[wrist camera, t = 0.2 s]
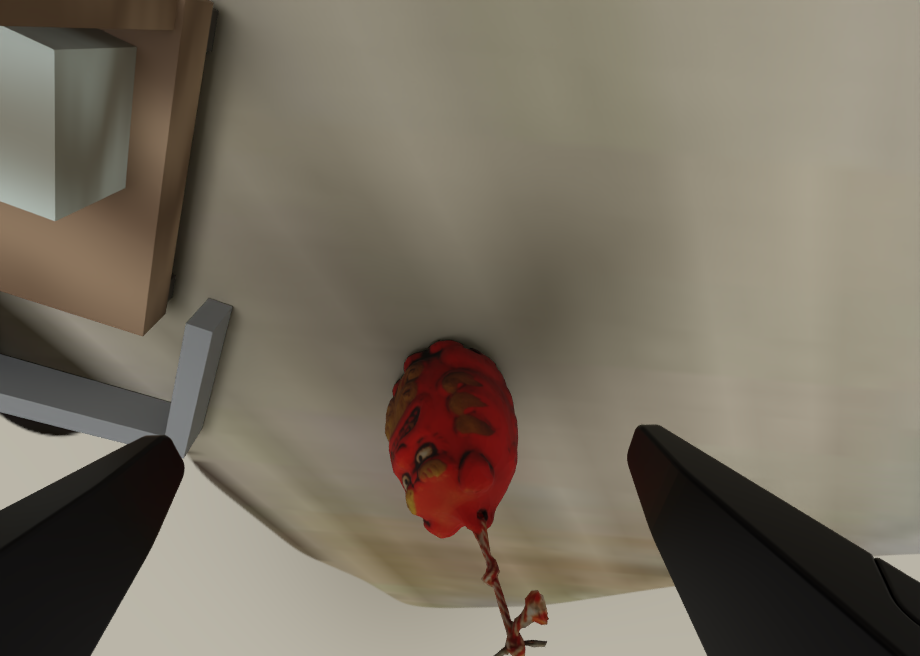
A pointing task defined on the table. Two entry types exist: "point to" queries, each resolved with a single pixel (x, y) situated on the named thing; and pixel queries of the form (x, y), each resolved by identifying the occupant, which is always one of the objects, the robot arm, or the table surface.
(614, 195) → the table surface
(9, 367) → the bay
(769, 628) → the robot arm
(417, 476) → the red clay folk toy
